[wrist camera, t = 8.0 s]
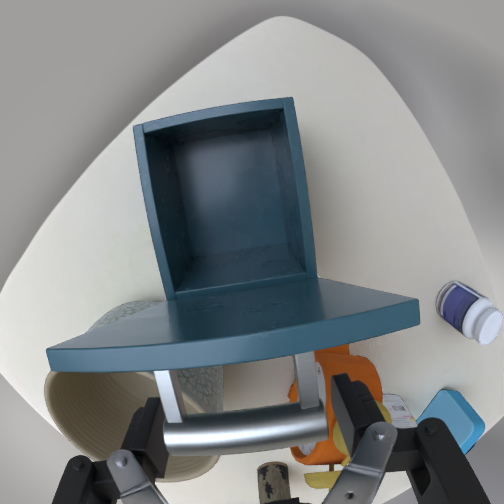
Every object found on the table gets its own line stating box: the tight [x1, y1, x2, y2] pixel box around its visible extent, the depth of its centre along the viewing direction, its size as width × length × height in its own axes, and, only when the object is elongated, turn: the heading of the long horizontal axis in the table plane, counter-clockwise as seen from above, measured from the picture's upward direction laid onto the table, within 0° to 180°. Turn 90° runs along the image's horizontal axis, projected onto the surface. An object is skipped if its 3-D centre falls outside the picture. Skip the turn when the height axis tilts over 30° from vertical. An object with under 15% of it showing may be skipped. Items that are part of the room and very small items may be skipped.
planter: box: [44, 301, 223, 482], centre depth 28 cm, size 17×17×15 cm
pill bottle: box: [436, 281, 503, 345], centre depth 31 cm, size 6×6×10 cm
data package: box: [416, 390, 485, 454], centre depth 36 cm, size 12×4×12 cm, turn 159°
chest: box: [133, 97, 317, 300], centre depth 26 cm, size 14×12×11 cm
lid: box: [46, 277, 420, 456], centre depth 15 cm, size 14×12×5 cm
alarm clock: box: [288, 344, 392, 491], centre depth 27 cm, size 13×6×20 cm, turn 168°
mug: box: [257, 462, 291, 504], centre depth 37 cm, size 8×6×12 cm
